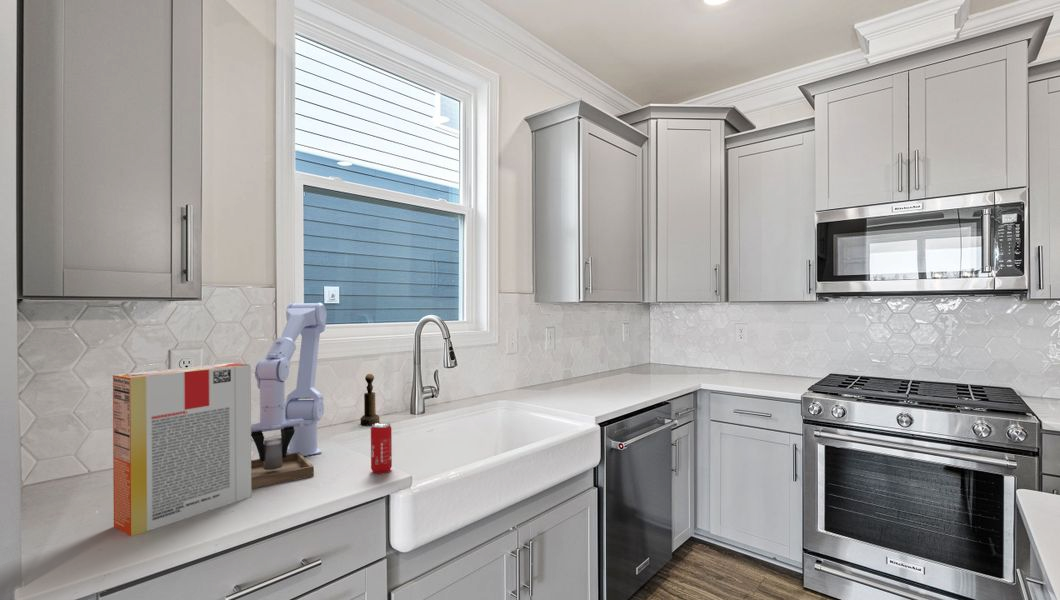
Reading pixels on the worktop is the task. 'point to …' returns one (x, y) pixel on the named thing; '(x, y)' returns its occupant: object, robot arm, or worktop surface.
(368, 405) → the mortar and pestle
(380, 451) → the beverage can
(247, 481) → the cereal box
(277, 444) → the cylinder
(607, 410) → the worktop surface
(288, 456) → the walnut tray
